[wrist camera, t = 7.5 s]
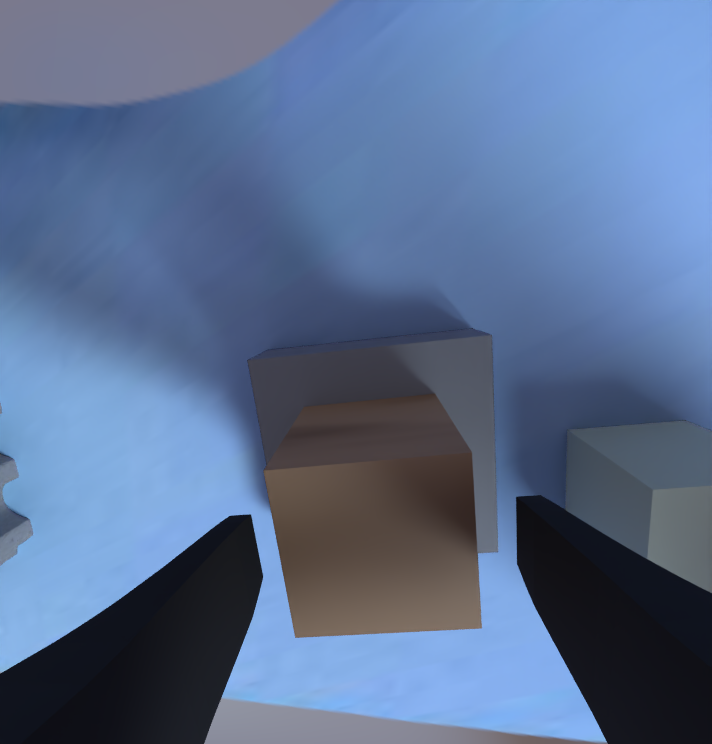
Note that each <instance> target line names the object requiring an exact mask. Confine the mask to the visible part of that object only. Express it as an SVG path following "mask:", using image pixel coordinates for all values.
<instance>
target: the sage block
mask: <svg viewBox="0 0 712 744" xmlns="http://www.w3.org/2000/svg"><path fill="white" fill-rule="evenodd" d="M565 510H566V511H568V512H569V513H571V514H573V515H574V516H576V517H578V518H579V519H581V520H582V521H584V522H586V523H587V524H589V525H590V526H592V527H594V528H595V529H597V530H599V531H600V532H602V533H604V534H605V535H607V536H609V537H610V538H612V539H614V540H615V541H617V542H619V543H620V544H622V545H624V546H625V547H627V548H629V549H631V550H632V551H634V552H636V553H638V554H639V555H641V556H643V557H644V558H646V559H648V560H650V561H652V562H654V563H655V564H657V565H659V566H661V567H663V568H665V569H666V570H668V571H670V572H672V573H674V574H676V575H677V576H679V577H681V578H683V579H685V580H687V581H689V582H691V583H693V584H695V585H697V586H699V587H701V588H702V589H704V590H706V591H709V592H711V593H712V431H710V430H708V429H705V428H703V427H700V426H698V425H696V424H693V423H691V422H688V421H686V420H682V421H669V422H657V423H644V424H632V425H619V426H607V427H594V428H582V429H569V430H567V460H566V501H565Z"/></svg>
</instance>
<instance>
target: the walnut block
mask: <svg viewBox="0 0 712 744" xmlns="http://www.w3.org/2000/svg"><path fill="white" fill-rule="evenodd" d="M263 471H264V476H265V482H266V487H267V492H268V497H269V503H270V508H271V513H272V518H273V523H274V529H275V534H276V539H277V544H278V550H279V555H280V560H281V565H282V571H283V576H284V581H285V586H286V591H287V597H288V602H289V607H290V612H291V618H292V623H293V628H294V633H295V638H299V637H319V636H339V635H359V634H379V633H399V632H419V631H438V630H458V629H478V628H482V624H481V606H480V588H479V570H478V552H477V533H476V515H475V497H474V479H473V461H472V452H471V450H470V448H469V447H468V445H467V444H466V442H465V440H464V439H463V437H462V436H461V434H460V432H459V431H458V429H457V428H456V426H455V425H454V423H453V421H452V420H451V418H450V417H449V415H448V413H447V412H446V410H445V409H444V407H443V405H442V404H441V402H440V401H439V399H438V397H437V396H436V394H427V395H417V396H407V397H397V398H387V399H377V400H367V401H357V402H347V403H338V404H328V405H318V406H308V407H304V408H303V409H302V411H301V412H300V414H299V415H298V417H297V419H296V420H295V422H294V423H293V425H292V426H291V428H290V430H289V431H288V433H287V434H286V436H285V437H284V439H283V441H282V442H281V444H280V445H279V447H278V448H277V450H276V452H275V453H274V455H273V456H272V458H271V459H270V461H269V463H268V464H267V466H266V467H265V469H264V470H263Z"/></svg>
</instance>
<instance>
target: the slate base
mask: <svg viewBox="0 0 712 744" xmlns="http://www.w3.org/2000/svg"><path fill="white" fill-rule="evenodd" d="M248 366H249V371H250V377H251V382H252V388H253V393H254V399H255V404H256V410H257V415H258V421H259V426H260V432H261V437H262V443H263V448H264V454H265V459H266V465H267V464H268V463H269V461H270V459H271V458H272V456H273V455H274V453H275V452H276V450H277V448H278V447H279V445H280V444H281V442H282V441H283V439H284V437H285V436H286V434H287V433H288V431H289V430H290V428H291V426H292V425H293V423H294V422H295V420H296V419H297V417H298V415H299V414H300V412H301V411H302V409H303V408H304V407H308V406H318V405H328V404H338V403H347V402H357V401H367V400H377V399H387V398H397V397H407V396H417V395H427V394H436V396H437V397H438V399H439V401H440V402H441V404H442V405H443V407H444V409H445V410H446V412H447V413H448V415H449V417H450V418H451V420H452V421H453V423H454V425H455V426H456V428H457V429H458V431H459V432H460V434H461V436H462V437H463V439H464V440H465V442H466V444H467V445H468V447H469V448H470V450H471V452H472V461H473V479H474V497H475V515H476V533H477V552H478V553H490V552H498V529H497V494H496V459H495V424H494V389H493V354H492V335H490V334H488V333H485V332H482V331H479V330H476V329H473V328H471V329H461V330H452V331H442V332H433V333H423V334H414V335H404V336H395V337H385V338H376V339H366V340H357V341H347V342H338V343H328V344H319V345H309V346H300V347H290V348H281V349H271V350H266V351H264V352H263V353H261V354H259V355H257V356H255V357H253V358H251V359H249V360H248Z"/></svg>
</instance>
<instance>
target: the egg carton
mask: <svg viewBox="0 0 712 744" xmlns="http://www.w3.org/2000/svg"><path fill="white" fill-rule="evenodd" d="M0 414H2V407H1V403H0ZM18 476H19V475H18V470H17V466H16V463H15V460H14V459H12V458H9V457H7V456H4V455H2V454H0V565H2V564H3V563H4V562H5V561H7V560H8V559H10V558H11V557H13V556H14V555H16V554H17V547H18V545H20V544H21V543H23V542H25V541H26V540H27V539H28V538H30V537H31V536H32V535H33V529H32V525H31V522H30V519H28V518H25V517H21V516H19V515H17V514H15V513H14V512H12V511H11V510H10V509H9V508H8V507H7V505H6V504H5V502H4V499H3V495H2V489H3V487H4V485H5V484H6V483H8V482H10V481H12V480H14V479H16V478H18Z"/></svg>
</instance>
